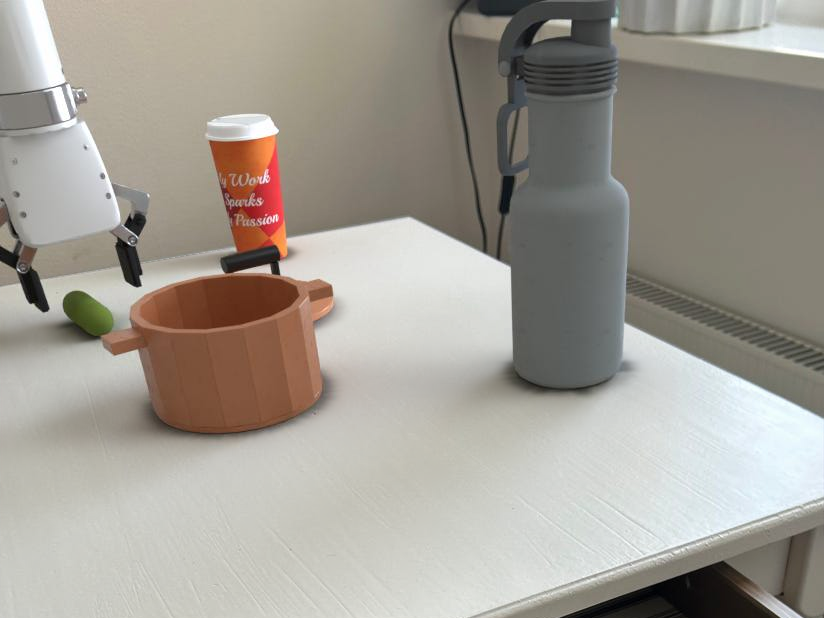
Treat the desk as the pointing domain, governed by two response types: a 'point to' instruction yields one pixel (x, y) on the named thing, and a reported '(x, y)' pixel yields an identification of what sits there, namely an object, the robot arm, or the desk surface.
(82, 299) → the pickle
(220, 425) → the pot
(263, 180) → the coffee cup
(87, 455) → the desk surface
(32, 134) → the robot arm
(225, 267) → the lid
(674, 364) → the desk surface
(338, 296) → the desk surface
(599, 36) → the water bottle
